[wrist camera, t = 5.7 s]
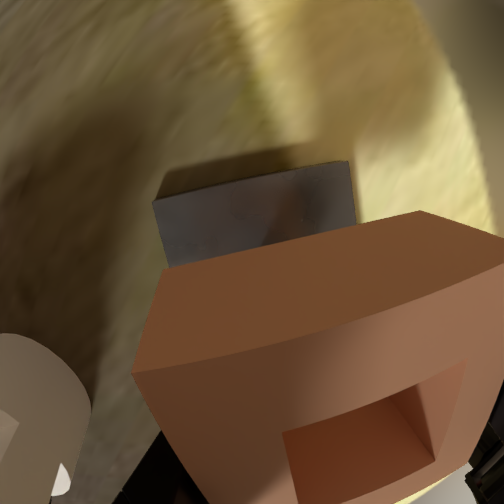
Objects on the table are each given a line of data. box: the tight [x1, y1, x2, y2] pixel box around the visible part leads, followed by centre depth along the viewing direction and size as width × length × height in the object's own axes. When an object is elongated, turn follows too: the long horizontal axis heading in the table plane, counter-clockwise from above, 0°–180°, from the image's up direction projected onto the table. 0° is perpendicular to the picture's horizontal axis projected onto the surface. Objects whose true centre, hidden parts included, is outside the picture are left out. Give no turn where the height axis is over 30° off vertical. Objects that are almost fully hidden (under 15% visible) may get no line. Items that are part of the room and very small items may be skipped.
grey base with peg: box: [152, 161, 356, 268], centre depth 13 cm, size 9×9×6 cm
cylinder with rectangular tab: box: [0, 333, 91, 504], centre depth 10 cm, size 9×9×12 cm
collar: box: [131, 210, 504, 504], centre depth 7 cm, size 7×7×4 cm
